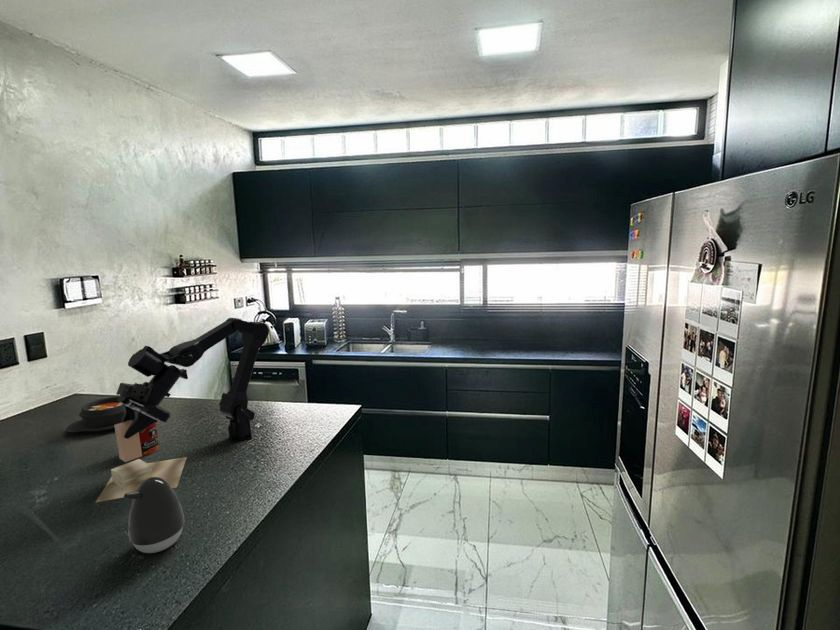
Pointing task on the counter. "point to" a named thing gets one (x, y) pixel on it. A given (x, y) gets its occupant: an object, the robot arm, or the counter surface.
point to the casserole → (98, 416)
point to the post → (127, 442)
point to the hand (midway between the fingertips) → (121, 436)
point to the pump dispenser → (154, 516)
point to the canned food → (149, 439)
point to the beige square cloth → (162, 469)
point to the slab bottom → (132, 481)
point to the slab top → (131, 470)
